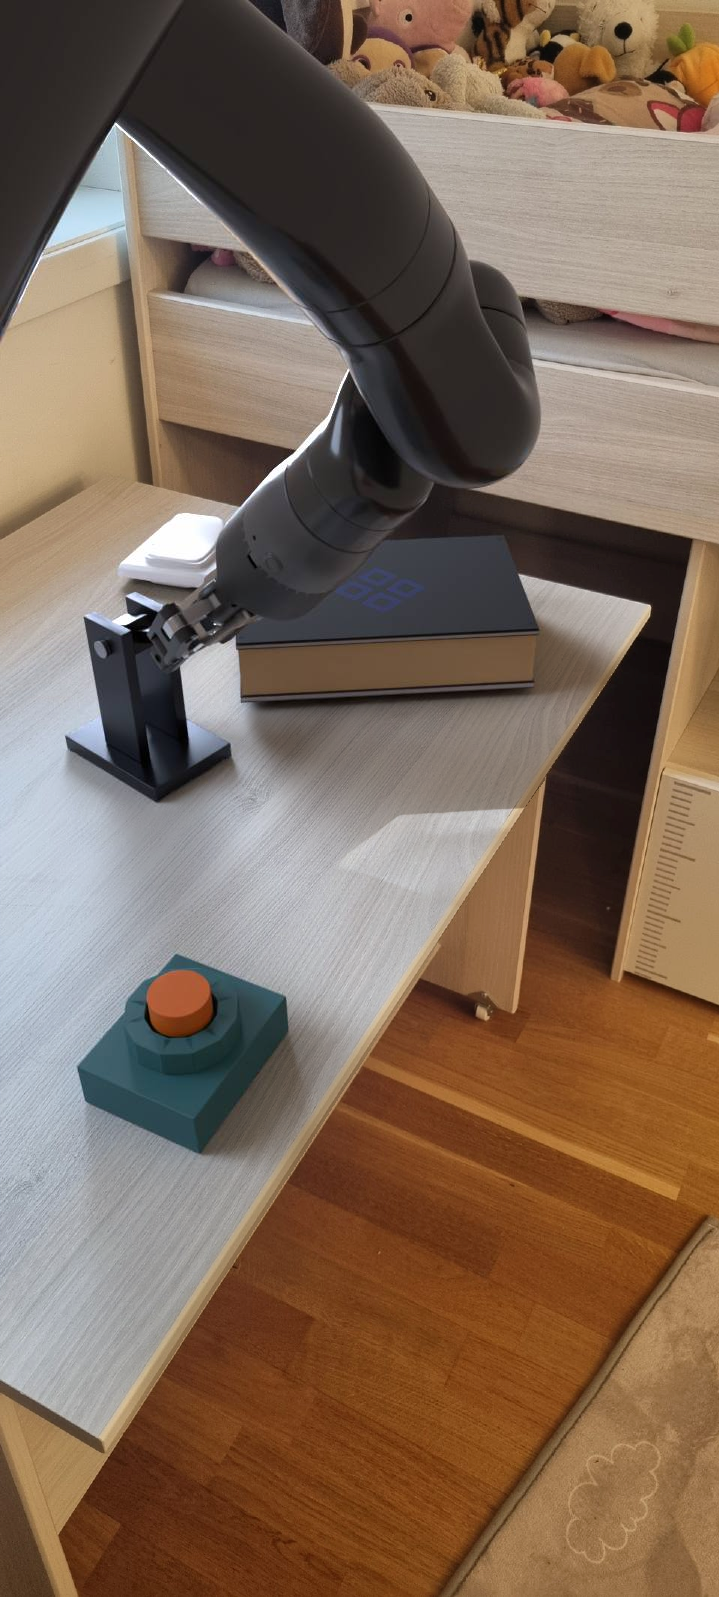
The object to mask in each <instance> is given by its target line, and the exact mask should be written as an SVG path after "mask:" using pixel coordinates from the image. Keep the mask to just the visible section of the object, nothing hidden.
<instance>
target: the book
mask: <svg viewBox="0 0 719 1597" xmlns="http://www.w3.org/2000/svg"><path fill="white" fill-rule="evenodd" d="M539 632H540V626H539V624H538V621H537V619H536V616H535V614H534V611H533V609H532V606H531V604H530V601H529V598H528V595H527V593H526V590H525V587H524V585H523V583H522V580H521V577H520V575H519V572H518V570H517V566H516V564H515V561H514V559H513V556H512V554H511V551H510V548H509V545H508V542H507V541H506V538H505V536H504V534H500V535H499V534H497V535H480V536H479V535H477V536H454V537H433V538H413V539H392V540H391V539H388V540H387V539H385V540H384V541H383V542H382V543H381V544H380V545H379V546H378V547H377V548H376V549H375V550H374V552H373V553H372V554H371V556H370V557H369V558H368V559H367V561H366V562H365V563H364V564H363V565H362V566H361V567H360V568H359V569H358V570H356V571H355V572H354V573H353V574H352V575H351V576H350V577H348V578H347V579H346V580H345V581H344V582H343V583H342V584H340V585H339V586H338V587H337V588H336V589H335V590H334V591H332V592H331V593H330V594H329V595H328V596H327V597H325V598H324V599H323V600H322V601H321V602H320V603H319V604H317V605H316V606H315V607H314V608H313V609H312V610H311V611H309V612H308V613H307V614H305V615H304V616H301V617H299V618H297V619H293V620H288V621H276V620H270V619H266V618H262V619H261V620H258V621H256V622H254V621H253V622H252V623H249V624H248V625H246V626H245V627H244V628H243V629H242V630H241V631H240V632H239V633H238V634H237V635H236V636H235V650H236V651H237V655H238V668H239V679H240V681H239V683H240V686H239V690H240V691H239V692H240V693H239V695H240V696H239V697H240V703H241V704H247V703H265V702H284V701H301V700H302V701H303V700H320V699H321V700H322V699H324V700H325V699H341V698H342V699H343V698H361V697H382V696H398V695H400V696H401V695H421V694H435V693H437V694H438V693H456V692H457V693H458V692H459V693H460V692H477V691H478V692H479V691H496V690H516V689H517V690H518V689H533V688H535V683H536V682H535V680H534V668H535V657H536V648H537V638H538V636H540V633H539Z"/></svg>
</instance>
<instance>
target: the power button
mask: <svg viewBox="0 0 719 1597" xmlns="http://www.w3.org/2000/svg"><path fill="white" fill-rule="evenodd" d="M147 1003H148V1009H149V1014H150V1020H151V1023H152V1025H153V1027H154V1028H155V1029H156V1030H157V1031H158V1032H160V1033H161V1034H163V1035H166V1036H169V1037H175V1038H180V1037H187V1036H191V1035H193V1034H196V1033H198V1032H199V1031H201V1030H202V1029H204V1028H205V1027H206V1026H207V1025H208V1023H209V1022H210V1020H211V1018H212V1015H213V1005H212V997H211V989H210V985H209V983H208V981H207V980H206V979H205V978H204V977H203V976H202V975H200V974H198V973H196V972H193V971H187V970H178V971H172V972H169V973H166V974H164V975H162V976H160V977H159V978H157V979H156V980H155V981H154V982H153V983H152V984H151V986H150V987H149V990H148V992H147Z"/></svg>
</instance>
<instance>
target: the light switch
mask: <svg viewBox="0 0 719 1597" xmlns="http://www.w3.org/2000/svg"><path fill="white" fill-rule="evenodd" d="M225 524H226V523H225V521H224V520H223V519H221V518H219V517H217V516H212V515H211V516H210V515H202V514H194V513H188V512H184V513H178V514H176V515H175V516H174V517H172V519H171V520H170V521H168V522H166V523H165V524H163V525H162V526H161V528H159V529H158V530H156V532H154V534H152V535H151V536H150V537H148V539H146V541H144V542H143V543H142V544H141V545H140V546H139V547H137V548H136V549H135V550H134V551H133V552H132V553H131V554H130V555H129V556H128V557H126V558H125V559H124V560H123V561H121V563H120V564H119V566H118V569H117V576H118V577H120V578H127V579H134V580H140V581H141V580H143V581H147V582H148V581H149V582H150V583H153V584H156V585H157V584H158V585H163V586H172V587H177V588H185V589H187V588H199V587H200V586H201V585H202V584H203V583H204V578H205V577H206V576H207V575H208V574H209V573H210V572H211V571H212V570H214V569H215V568H216V555H215V551H216V543H217V539H218V536H219V534H220V531H221V530H222V528H223V526H224V525H225Z"/></svg>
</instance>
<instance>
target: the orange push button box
mask: <svg viewBox="0 0 719 1597" xmlns="http://www.w3.org/2000/svg"><path fill="white" fill-rule="evenodd" d="M178 970H187V971H193V972H196V973H198V974H200V975H202V976H203V977H204V978H205V979H206V980H207V981H208V983H209V985H210V989H211V997H212V1005H213V1015H212V1018H211V1020H210V1022H209V1023H208V1025H207V1026H206V1027H205V1028H204V1029H202V1030H201V1031H199V1032H198V1033H196V1034H193V1035H191V1036H187V1037H180V1038H175V1037H169V1036H166V1035H163V1034H161V1033H160V1032H158V1031H157V1030H156V1029H155V1028H154V1027H153V1025H152V1023H151V1020H150V1014H149V1009H148V1003H147V992H148V990H149V987H150V986H151V984H152V983H153V982H154V981H155V980H156V979H157V978H159V977H160V976H162V975H164V974H166V973H169V972H172V971H178ZM289 1031H290V1030H289V1016H288V1003H287V996H286V995H284V994H281V993H279V992H276V991H273V990H271V989H268V988H266V987H264V986H261V985H258V984H256V983H253V982H251V981H248V980H245V979H243V978H240V977H238V976H235V975H233V974H230V973H227V972H225V971H222V970H220V969H217V968H214V967H211V966H209V965H207V964H204V963H201V962H199V961H196V960H194V959H191V958H188V957H186V956H183V955H181V954H178V953H175V954H174V955H173V956H172V957H171V958H170V959H169V961H168V962H167V963H166V964H165V965H164V967H163V968H162V969H161V970H160V971H159V972H158V974H156V975H154V976H151V977H149V978H147V979H145V980H143V981H142V982H141V983H140V985H138V986H137V987H136V989H135V990H134V992H133V993H131V994H130V996H129V997H128V998H127V999H126V1001H125V1006H124V1012H123V1013H122V1014H121V1016H120V1017H119V1018H117V1020H116V1021H115V1022H114V1023H113V1024H112V1025H111V1027H110V1028H109V1029H108V1030H107V1032H105V1034H104V1035H103V1036H102V1037H101V1038H100V1039H99V1041H98V1042H97V1043H96V1044H95V1045H94V1046H93V1047H92V1049H91V1050H90V1051H88V1053H87V1054H86V1056H84V1057H83V1059H82V1060H81V1061H80V1062H79V1063H78V1065H77V1066H76V1070H77V1074H78V1077H79V1083H80V1086H81V1090H82V1093H83V1098H84V1101H85V1102H86V1103H87V1104H90V1105H92V1106H93V1107H96V1108H98V1109H100V1110H103V1111H105V1112H107V1113H109V1114H111V1115H113V1116H116V1117H118V1118H120V1119H122V1120H124V1121H127V1122H129V1123H131V1124H133V1125H135V1126H138V1127H140V1128H141V1129H144V1130H146V1131H148V1132H151V1133H152V1134H155V1135H156V1136H159V1137H161V1138H164V1139H166V1140H168V1141H170V1142H172V1143H175V1144H177V1145H179V1146H181V1147H183V1148H185V1149H188V1150H190V1151H192V1152H194V1153H196V1154H198V1155H199V1154H201V1153H202V1152H203V1150H204V1149H205V1147H206V1146H207V1145H208V1144H209V1142H210V1140H211V1139H212V1138H213V1136H214V1135H215V1134H216V1133H217V1131H218V1129H219V1128H220V1127H221V1125H223V1123H224V1121H225V1120H226V1119H227V1117H228V1116H229V1114H230V1113H231V1112H232V1110H233V1109H234V1107H235V1106H236V1105H237V1103H238V1102H239V1101H240V1099H241V1097H242V1096H243V1095H244V1094H245V1092H246V1091H247V1090H248V1088H249V1087H250V1086H251V1084H252V1083H253V1081H254V1080H255V1079H256V1078H257V1076H258V1074H259V1073H260V1072H261V1070H262V1069H263V1067H264V1066H266V1063H267V1062H268V1061H269V1060H270V1058H271V1056H272V1055H273V1054H274V1052H275V1051H276V1049H277V1048H278V1047H279V1046H280V1044H281V1043H282V1041H283V1040H284V1038H285V1037H286V1036H287V1035H288V1033H289Z"/></svg>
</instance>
